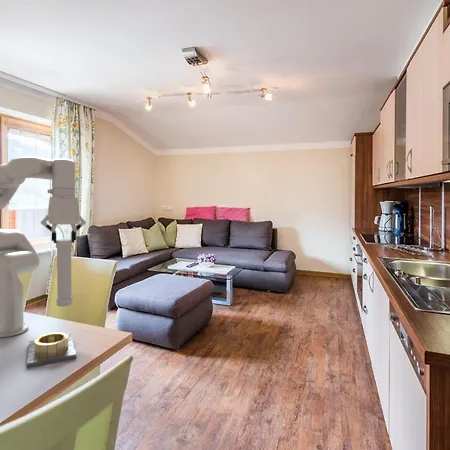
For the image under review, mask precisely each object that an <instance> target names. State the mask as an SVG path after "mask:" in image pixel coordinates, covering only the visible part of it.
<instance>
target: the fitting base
mask: <svg viewBox="0 0 450 450" xmlns="http://www.w3.org/2000/svg"><path fill="white" fill-rule="evenodd" d="M27 349H28V350H27V360H26V368H27V369H30V368H36V367H40V366H44V365H45V366H46V365H49V364H50V365H51V364H55V363H60V362H66V361H70V360H76V359H77V353H76V348H75V343H74V339H73V335H72V333H70V334H68V333H65V332H58V331H57V332H50V333H45V334H42V335H39V336H37V338H35V339H34V340H28V347H27Z"/></svg>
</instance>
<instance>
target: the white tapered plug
mask: <svg viewBox="0 0 450 450" xmlns="http://www.w3.org/2000/svg"><path fill="white" fill-rule="evenodd" d="M57 227H58V228H59V230H60V231H61V233H62V235H63V236H62V237H63V239H56V243H55V248H56V271H57V272H56V274H57V275H56V276H57V277H56V279H57V280H56V281H57V287H56V288H57V292H56V293H57V297H56V299H55V301H56V306H57V307H68V306H71V305H73V297H74V296H72V248H73V243H72V240H71V239H65V235H64V232H63V230H62V229H61V227H60V226H59V225H57Z"/></svg>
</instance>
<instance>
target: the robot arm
mask: <svg viewBox="0 0 450 450" xmlns="http://www.w3.org/2000/svg"><path fill="white" fill-rule="evenodd" d="M26 179H43V180H51V189H47V194H50V195H51V196H50V197H49V198H48V199H49V200H48V207H47V208H48V211H47V215H46V216H45V217H44V218H43V219H42V220H41V221H40V225H42V226H43V227H45V228H46V229H47V230H48V231H50V232H51V242H53V244H56V241H57V231H56V229H57V227H58V226H59V225H60V226H61V225H70V226H71V232H70V233H71V234H70V240H72V244H74V243H75V241H76V240H77V232H78V231H79V230H80V229H81V228H82V227H83V226H84V225H86V223H87V222H86V221H85V219H84V218H83V217H82V216H81V214H80V205H79V204H80V202H79V197H76V163H75V161H74V160H72V159H68V158H54V159H51V158H45V157H39V156H32V155H31V156H30V155H28V156H23V157H22V156H21V157H16V158H12V159H10V161H9V162H8V163H3V164H0V210H3V209H4V208H6V207H7V206H8V204H9V203H10V202H11V200H12V198H13V197H14V195H15V194H16V192H17V191H18V189H19V187H20V185H22V184H23V183H24V182H25V181H26ZM50 224H51V225H50ZM39 265H40V257H39V255H38V253H37V251H36V249H34V247H33V245H32V243H31V242H30V241H29V240H28V238H27V236H26V235H25V234H24V233H23V232H22V231H20V230H18V229H13V228H10V229H2V228H0V338H9V337H14V336H17V335H21V334H22V333H25V332H27V330H28V329H29V325H28V324H27V323H25V322H24V318H25V317H24V285H23V282H22V280H21V279H20V277H19V275H23V274H27V273H30V272H33V271H35V270H37V269H38V267H39Z"/></svg>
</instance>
